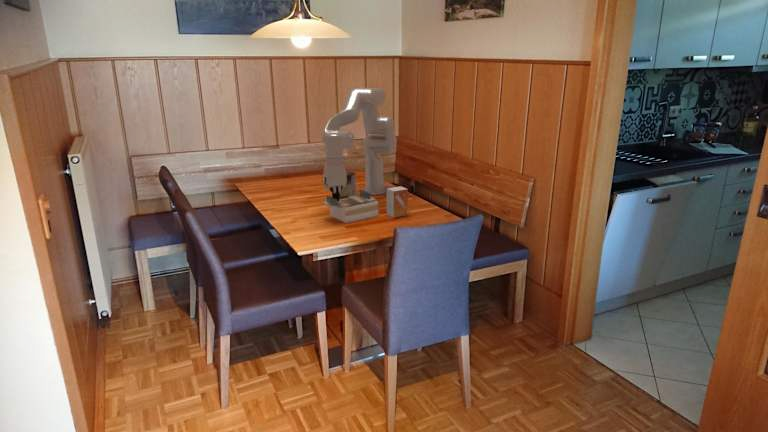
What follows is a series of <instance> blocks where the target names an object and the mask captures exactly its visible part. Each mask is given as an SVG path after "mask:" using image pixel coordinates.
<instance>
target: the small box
mask: <svg viewBox="0 0 768 432" xmlns="http://www.w3.org/2000/svg"><path fill="white" fill-rule="evenodd" d="M408 194H409V191H408V188H406V187H403V186H402V185H401V186H400V185H399V186H394V187H386V207H385V208H386V210H385V211H386V213H385V214H386V215H387V216H389V217H391V218H393V219H395V218H399V217H405V216H408V202H409V201H408V198H409V197H408V196H409V195H408Z"/></svg>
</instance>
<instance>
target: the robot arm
mask: <svg viewBox="0 0 768 432" xmlns="http://www.w3.org/2000/svg"><path fill="white" fill-rule="evenodd" d="M386 99H387V94H386V92H385V90H384V89H383V88H379V87H356V88H352V89H350V90H349V91H348V93H347V95H346V98H345V101H344V103H343V106H342V109H341V111H340V112H338V113H336V114H335V115H333V116H332V117H331V118H330V119H329V120H328V121H327V122H326V125H325V127H324V130H323V133H322V136H321V138H322V139H321V140H322V143H323V145H325V156H326V157H325V159H326V160H325V164H324V166H323V174H322V175H323V176H322V180H323V181H322V183H323V185H324V190H327V191H330V192H331V197H333V198H335V199H337V201H339V199H340V192H341V189H342V188H344V187H346V183H347V175H346V172H347V168H346V165H345V162H344V161H345V160H346V157H345V156H344V148H345V149H346V148H349V147H351V146H352V145H353V144H354V142H355V136H354V133H353V132H352V131H349V130H344V129H343V130H341V129H339V128H342V127H344V126H347V125H351V124H352V123H355V122H356V121H358V119H359V117H360V115H362V122H363V128H364V132H365V133H366V134H369V135H366V136H365V137H364V138H363V142H362V143H363V149H364V159H365V160H364V161H365V188H364V189H363V190H364V191H367V192H370V193H371V196H378V195H384V194H385V193H387V188H391V184H390V183H384V160H383V157H382V156H381V154H393V153H394V152H395V151H396V147H397V141H396V129H395V123H394V120H393V118H392V117H391V116H386V115H380V114H379V107H382V106H383V105H384V104H385V103H386Z"/></svg>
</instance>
